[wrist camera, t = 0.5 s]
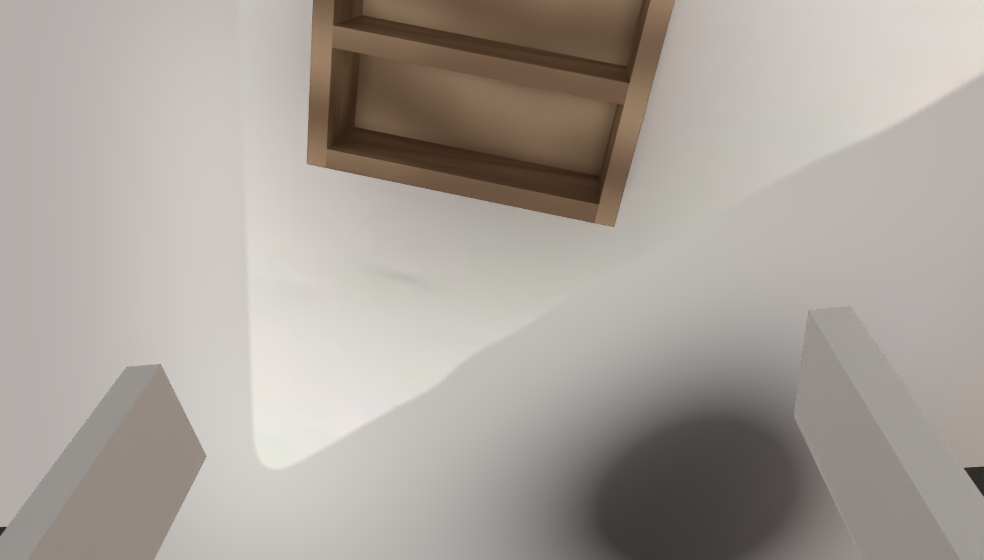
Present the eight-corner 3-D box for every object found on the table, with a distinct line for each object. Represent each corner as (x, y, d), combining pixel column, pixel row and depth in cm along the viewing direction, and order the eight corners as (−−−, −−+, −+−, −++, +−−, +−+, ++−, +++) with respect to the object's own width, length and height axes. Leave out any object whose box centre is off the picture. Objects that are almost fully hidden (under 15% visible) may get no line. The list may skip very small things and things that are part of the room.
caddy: (365, -241, 32) (323, -271, 27) (708, -181, 31) (728, -201, 26) (342, 135, 40) (306, 163, 36) (612, 190, 40) (614, 227, 35)
